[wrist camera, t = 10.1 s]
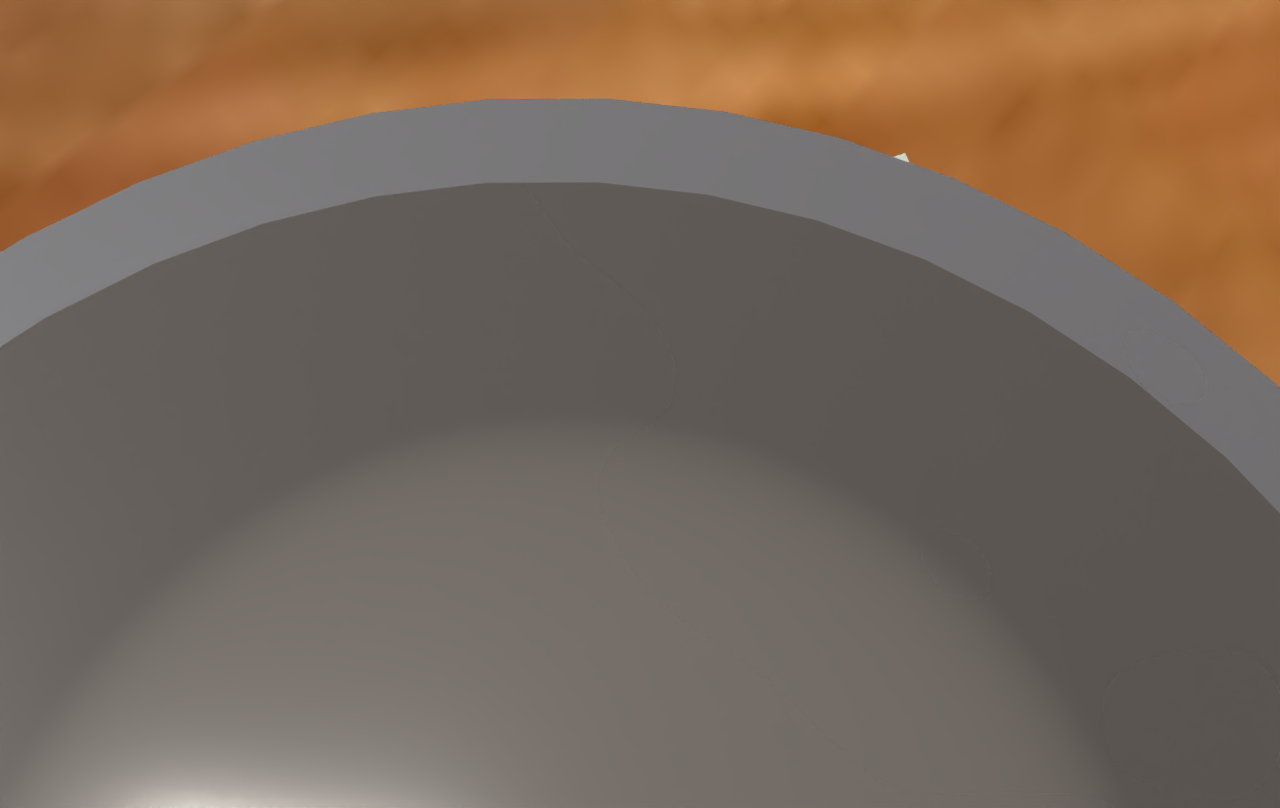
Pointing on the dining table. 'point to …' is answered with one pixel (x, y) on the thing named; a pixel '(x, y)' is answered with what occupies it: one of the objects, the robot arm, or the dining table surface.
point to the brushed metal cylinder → (619, 486)
